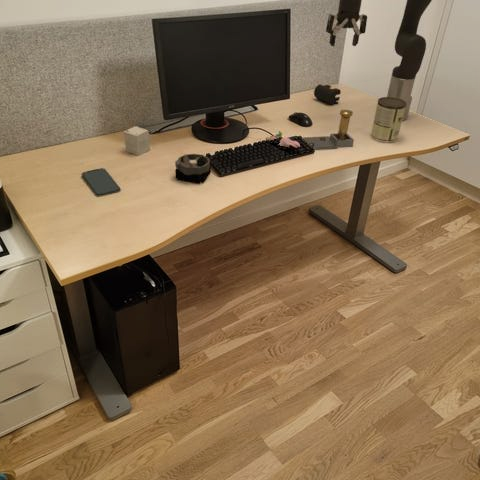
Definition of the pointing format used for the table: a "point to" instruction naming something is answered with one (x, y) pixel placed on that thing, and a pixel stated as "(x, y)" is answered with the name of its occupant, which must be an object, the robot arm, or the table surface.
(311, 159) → the table surface
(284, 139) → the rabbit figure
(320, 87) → the end cap
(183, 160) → the cpu cooler
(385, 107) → the coffee can
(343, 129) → the hinge pin
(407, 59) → the robot arm
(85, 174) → the smartphone
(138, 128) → the skincare box
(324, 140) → the grey tray fixture
